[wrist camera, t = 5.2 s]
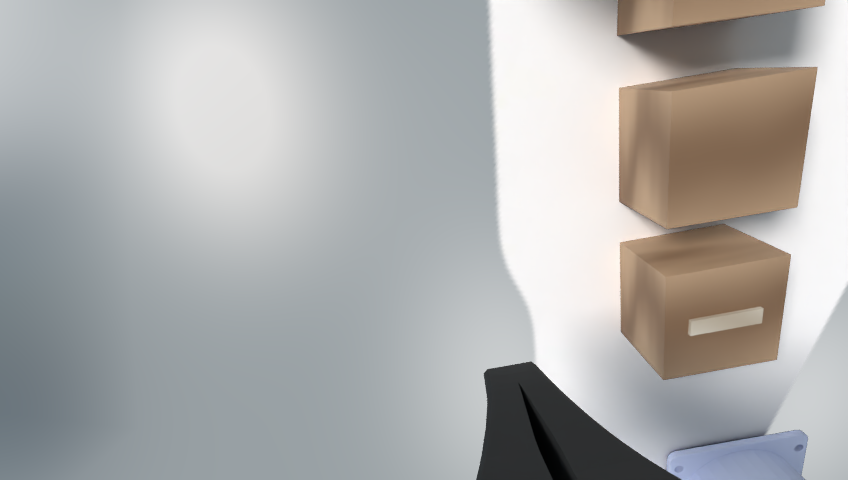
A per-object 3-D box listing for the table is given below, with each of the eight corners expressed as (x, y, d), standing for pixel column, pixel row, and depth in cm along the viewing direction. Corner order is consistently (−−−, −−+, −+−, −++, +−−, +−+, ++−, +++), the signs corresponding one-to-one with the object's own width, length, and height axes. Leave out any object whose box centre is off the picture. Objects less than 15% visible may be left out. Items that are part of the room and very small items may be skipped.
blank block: (725, 182, 21) (797, 207, 17) (617, 200, 21) (666, 229, 17) (734, 68, 19) (817, 67, 15) (617, 87, 19) (671, 91, 15)
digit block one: (715, 313, 23) (779, 361, 19) (619, 330, 23) (665, 382, 19) (721, 222, 22) (794, 256, 18) (618, 241, 22) (668, 278, 18)
